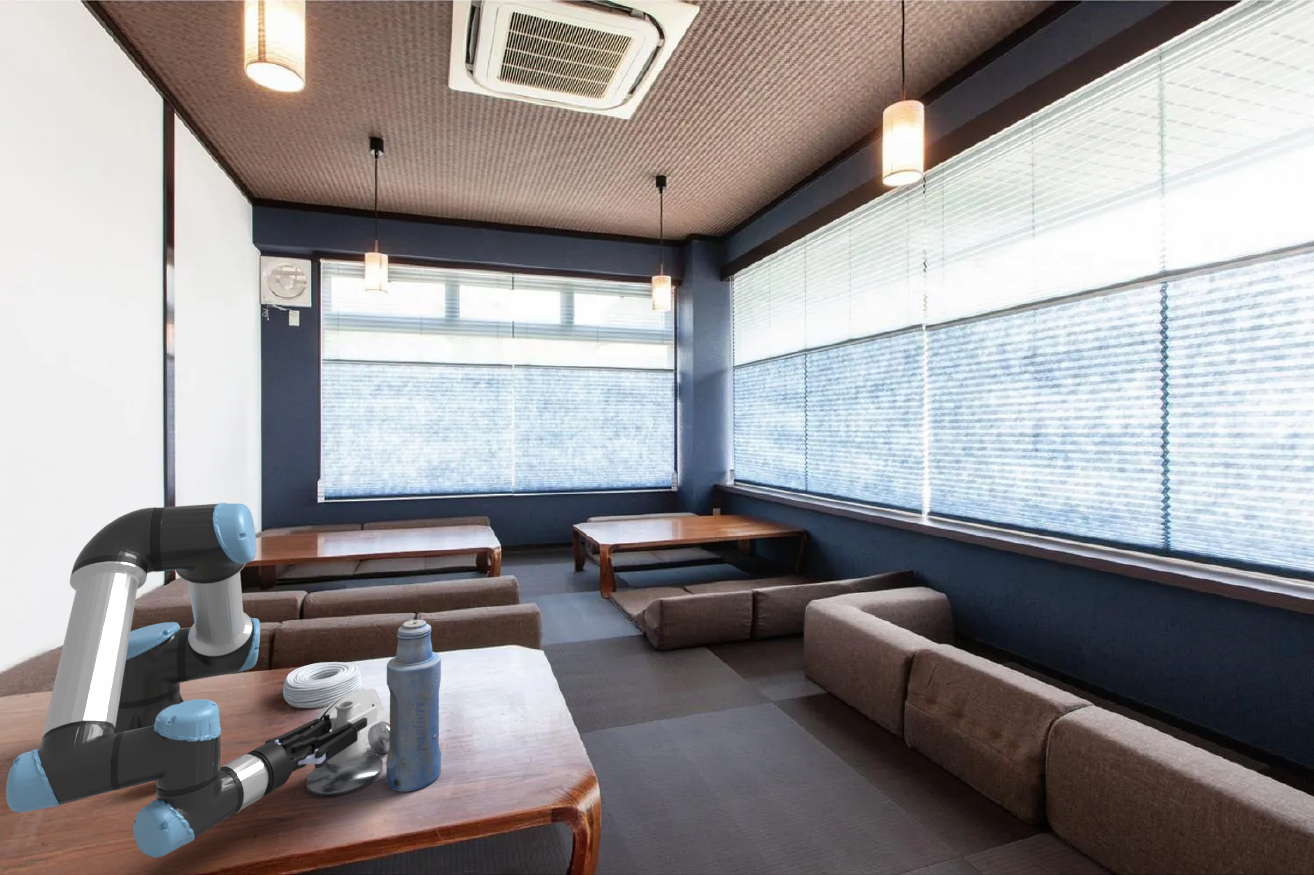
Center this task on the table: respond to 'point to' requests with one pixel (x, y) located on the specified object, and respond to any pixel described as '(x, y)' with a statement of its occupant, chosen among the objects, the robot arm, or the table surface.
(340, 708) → the flask
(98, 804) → the table surface
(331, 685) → the cable
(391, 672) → the bottle
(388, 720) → the white flat angled piece
